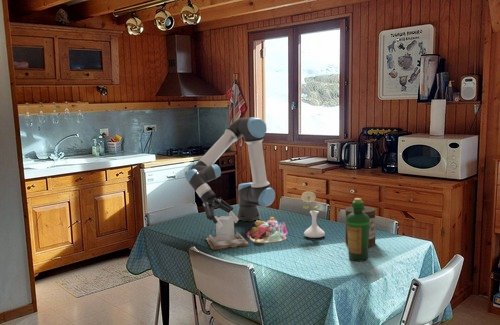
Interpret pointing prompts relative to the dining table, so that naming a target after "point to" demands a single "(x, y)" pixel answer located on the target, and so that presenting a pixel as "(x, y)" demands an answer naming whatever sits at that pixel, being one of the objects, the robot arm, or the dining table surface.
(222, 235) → the supplement box
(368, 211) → the wooden container
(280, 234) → the candy landscape model
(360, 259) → the bottle
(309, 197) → the flower in vase
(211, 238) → the board
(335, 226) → the dining table surface
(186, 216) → the dining table surface
